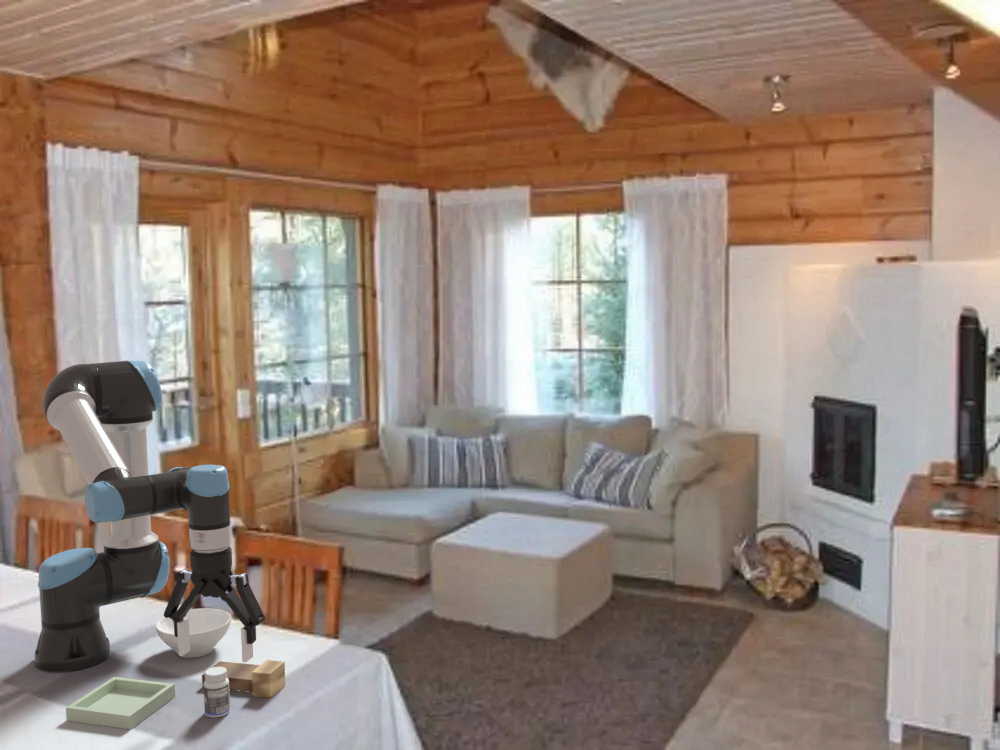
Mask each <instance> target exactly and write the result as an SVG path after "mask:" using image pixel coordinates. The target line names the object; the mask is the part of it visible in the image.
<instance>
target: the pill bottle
mask: <svg viewBox="0 0 1000 750" xmlns="http://www.w3.org/2000/svg"><path fill="white" fill-rule="evenodd" d="M204 673H205V680H206V681H205V682H204V687H203V700H204V702H203V703H204V714H205V716H206V717H207V718H213V719H214V718H215V719H216V718H221V717H224V716H227V715H228V714H229V713H230V712H231V695H230V692H231V690H229V679H228V678H227V670H226V668H224V667H213V666H212V667H210V668H207V669H206V670H205V672H204Z"/></svg>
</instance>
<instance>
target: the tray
mask: <svg viewBox="0 0 1000 750" xmlns="http://www.w3.org/2000/svg"><path fill="white" fill-rule="evenodd" d="M175 686H176V684H175V683H170V682H161V681H153V680H144V679H136V678H129V677H127V678H126V677H120V676H113V677H111V678H110V679H109V680H107V681H105V682H104V683H102V684H101V685H99V686H97V687H95V688H94V689H93V690H91V691H90V692H88V693H86V694H85V695H83V696H82V697H80V698H78V699H77V700H75V701H74V702H72V703H71V704H70V705H68V706H65V715H66V716H65V717H66V722H74V723H81V724H88V725H93V726H102V727H109V728H117V729H123V730H132V729H133V728H135V727H136V726H137V725H139V724H140V723H141V722H143V721H144V720H146V719H147V718H148V717H150V716H151V715H152V714H154V713H155V712H156V711H158V710H160V708H162V707H163V706H165V704H167V703H168V702H170V701H171V700H173V699H174V698H175V697H176V687H175Z"/></svg>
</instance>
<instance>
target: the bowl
mask: <svg viewBox="0 0 1000 750" xmlns="http://www.w3.org/2000/svg"><path fill="white" fill-rule="evenodd" d="M184 618H189V634H190V651H189V652H188V653H186V654H185V655H183V656H180V658H181V657H182V658H189V659H191V658H199V657H203V656H207V655H209V654H210V653H212V651H213V650H214V649H215V647H216V646H217V645H218V644H219V642H220V641H221V640H222V639H223V638H224V636H225V635H226V634H227V632H228V630H229V629H230V626H231V623H232V616H231V613H229V612H227V611H226V610H223V609H218V608H208V607H207V608H206V607H205V608H191V609H190V610H189V611H188V613H187V614H186V616H185V617H183V619H184ZM155 629H156V633H157V635H158V637H159V638H160V639H161V641H163V643H164V644H165V645H166V646H168V647H169V648H170V649H172V650H173V651H174V652H176V654H177V655H178V656H179V650H178V637H175V635H174V621H173V620H172V619H171V618H169V617H168V618H165V617H162V618H161V619H160V620H158V621H157V622H156V624H155Z"/></svg>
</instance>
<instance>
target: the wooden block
mask: <svg viewBox="0 0 1000 750" xmlns="http://www.w3.org/2000/svg"><path fill="white" fill-rule="evenodd" d="M259 665H260V666H259V667H257V668H256V669H255V670H254V671H252V687H253V692H252V697H259V698H268V699H272V698H273V697H274V696H275V695H276V694H278V693H279V691H280V690H283V688H284V687H285V686H286V672H285V671H286V669H285V668H286V667H285V661H281V660H271V659H266V660H265V661H263V662H262V663H261V664H259Z"/></svg>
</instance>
